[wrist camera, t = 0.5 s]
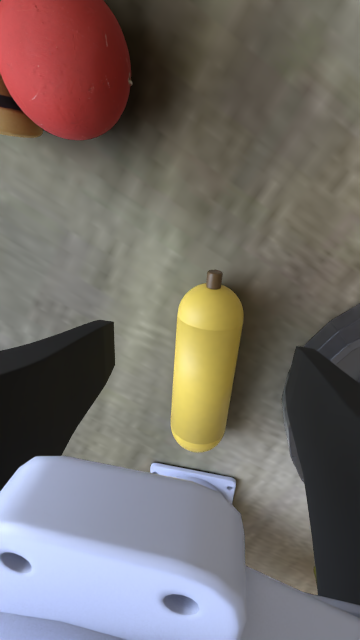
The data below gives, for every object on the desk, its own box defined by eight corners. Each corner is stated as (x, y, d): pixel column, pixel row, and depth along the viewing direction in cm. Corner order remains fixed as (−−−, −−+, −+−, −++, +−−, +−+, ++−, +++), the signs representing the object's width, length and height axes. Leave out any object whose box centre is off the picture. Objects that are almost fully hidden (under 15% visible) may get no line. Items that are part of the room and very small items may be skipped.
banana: (223, 428, 26) (220, 470, 22) (174, 419, 26) (164, 459, 22) (249, 265, 20) (252, 284, 16) (186, 259, 20) (174, 276, 16)
